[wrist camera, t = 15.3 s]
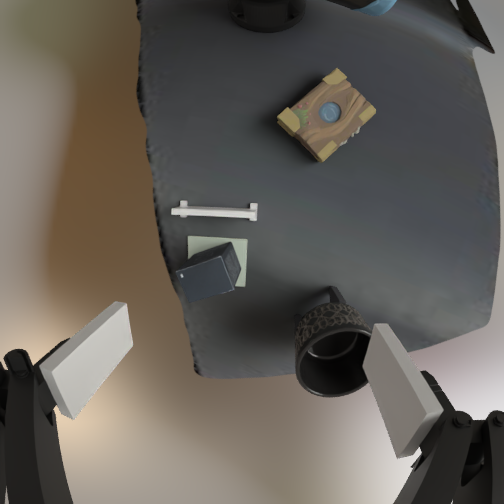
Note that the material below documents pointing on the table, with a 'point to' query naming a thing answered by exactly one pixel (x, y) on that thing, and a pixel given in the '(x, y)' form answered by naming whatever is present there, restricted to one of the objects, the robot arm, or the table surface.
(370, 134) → the table surface
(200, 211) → the handle
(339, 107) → the book
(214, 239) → the pad
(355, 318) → the planter
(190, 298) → the box
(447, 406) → the robot arm
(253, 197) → the table surface
